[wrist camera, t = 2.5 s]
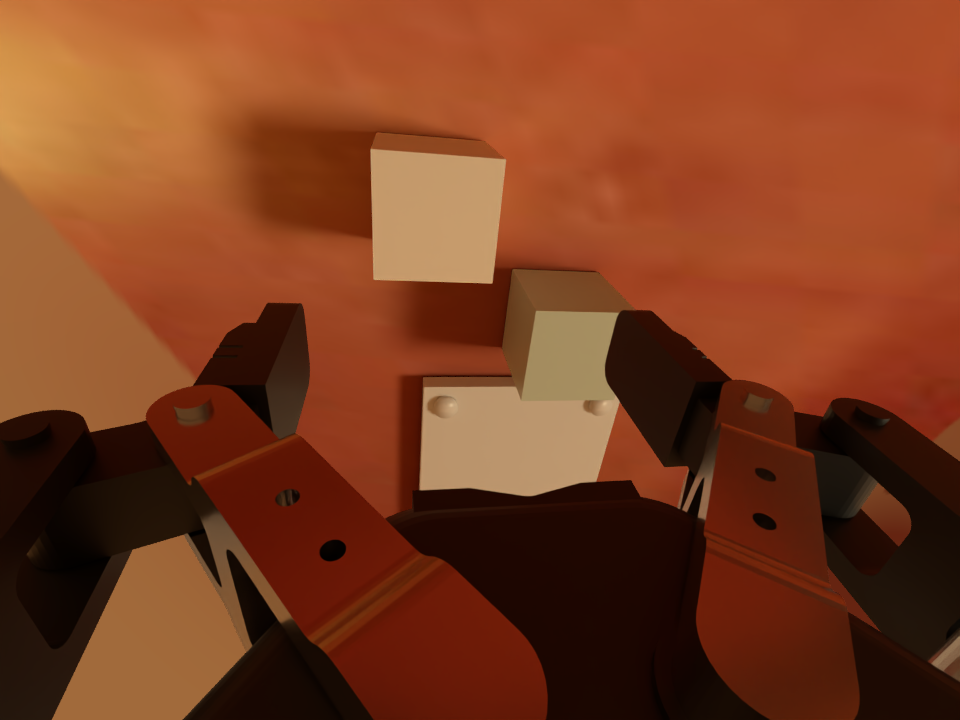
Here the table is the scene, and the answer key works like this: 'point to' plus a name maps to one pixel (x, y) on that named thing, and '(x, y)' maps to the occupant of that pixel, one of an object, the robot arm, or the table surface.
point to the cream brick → (435, 208)
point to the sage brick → (560, 334)
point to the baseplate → (508, 437)
